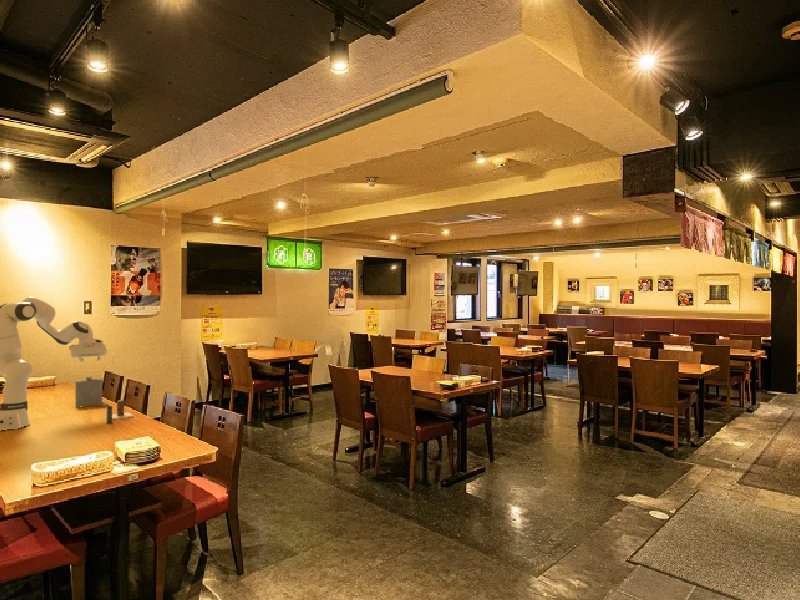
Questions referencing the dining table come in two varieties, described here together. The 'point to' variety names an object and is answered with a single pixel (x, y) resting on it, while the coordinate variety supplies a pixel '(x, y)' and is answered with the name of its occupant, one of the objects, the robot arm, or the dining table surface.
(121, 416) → the plate
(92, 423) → the dining table surface
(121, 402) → the walnut peg
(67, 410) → the dining table surface
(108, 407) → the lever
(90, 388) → the hip flask
